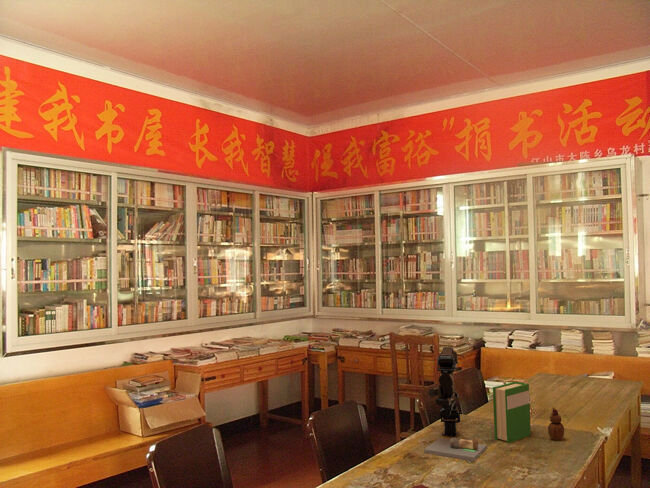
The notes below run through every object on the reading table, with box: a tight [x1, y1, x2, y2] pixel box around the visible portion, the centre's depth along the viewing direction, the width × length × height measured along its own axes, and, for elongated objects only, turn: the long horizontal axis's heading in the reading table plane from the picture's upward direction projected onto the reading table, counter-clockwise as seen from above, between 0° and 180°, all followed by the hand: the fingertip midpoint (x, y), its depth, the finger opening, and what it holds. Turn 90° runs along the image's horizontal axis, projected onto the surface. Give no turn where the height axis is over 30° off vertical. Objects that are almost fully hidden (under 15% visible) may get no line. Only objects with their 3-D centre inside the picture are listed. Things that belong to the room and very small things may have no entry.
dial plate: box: [423, 437, 488, 462], centre depth 244 cm, size 18×22×2 cm
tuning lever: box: [449, 437, 479, 450], centre depth 243 cm, size 12×4×4 cm, turn 62°
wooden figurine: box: [547, 407, 565, 441], centre depth 256 cm, size 7×6×15 cm
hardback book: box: [492, 381, 532, 444], centre depth 261 cm, size 18×7×24 cm, turn 128°
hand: (448, 416), depth 255 cm, fingers closed
